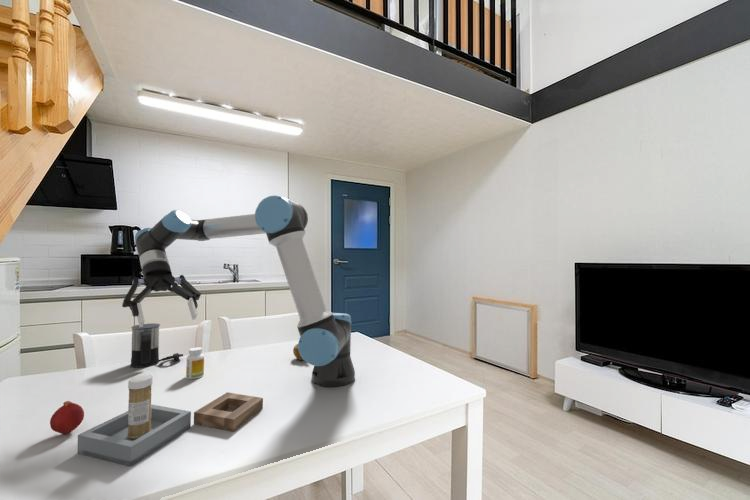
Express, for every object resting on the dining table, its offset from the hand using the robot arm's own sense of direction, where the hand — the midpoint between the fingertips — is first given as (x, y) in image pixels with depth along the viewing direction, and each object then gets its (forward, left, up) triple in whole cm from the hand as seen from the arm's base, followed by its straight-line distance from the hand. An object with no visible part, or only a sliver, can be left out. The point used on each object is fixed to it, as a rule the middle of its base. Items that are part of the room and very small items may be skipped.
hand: (170, 320), depth 93 cm
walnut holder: (-23, +2, -24) cm, 33 cm away
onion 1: (+8, +20, -24) cm, 32 cm away
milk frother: (+31, -24, -24) cm, 46 cm away
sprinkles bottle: (-10, +17, -23) cm, 30 cm away
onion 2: (-20, -45, -24) cm, 55 cm away
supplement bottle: (+7, -17, -24) cm, 30 cm away
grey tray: (-10, +17, -24) cm, 31 cm away
